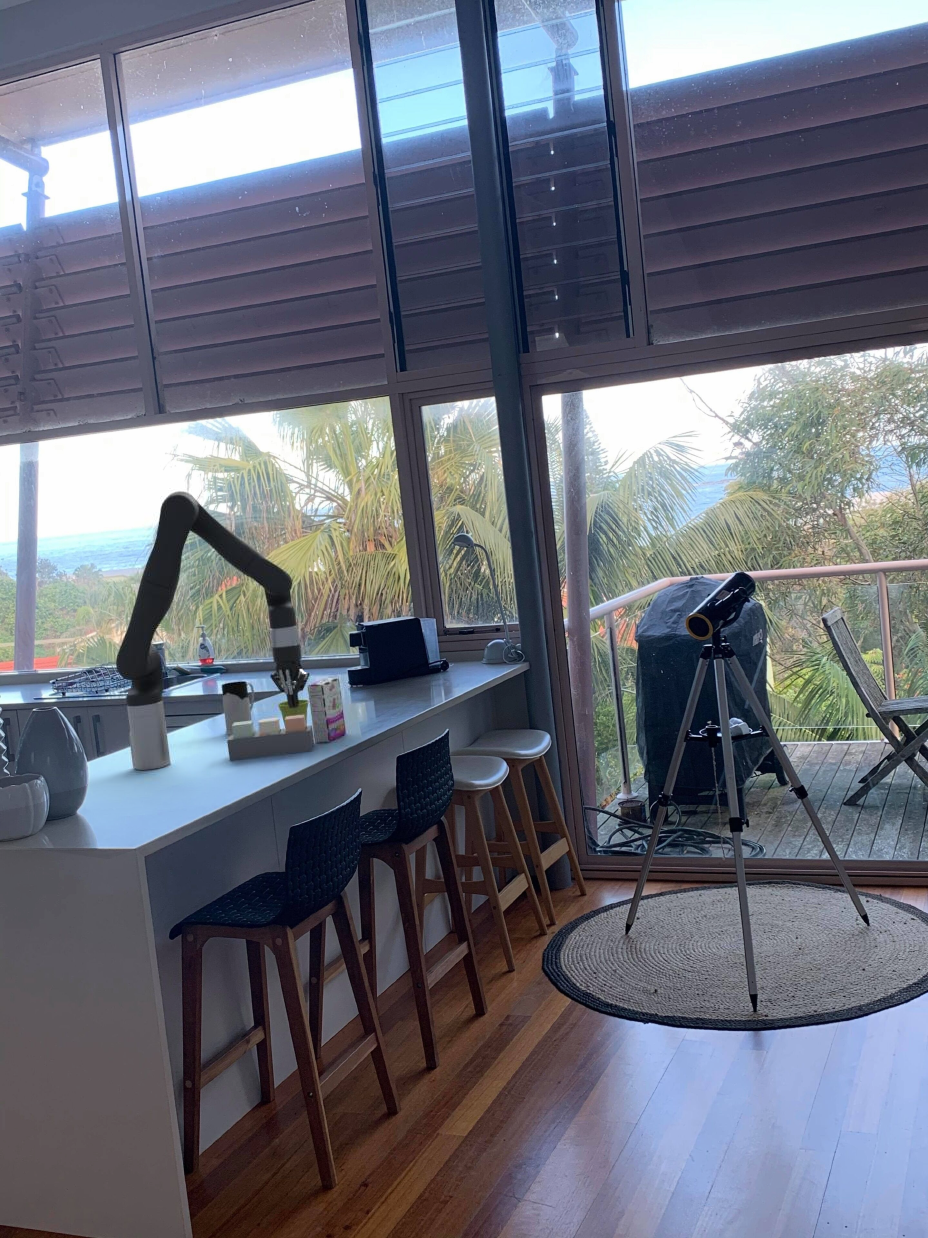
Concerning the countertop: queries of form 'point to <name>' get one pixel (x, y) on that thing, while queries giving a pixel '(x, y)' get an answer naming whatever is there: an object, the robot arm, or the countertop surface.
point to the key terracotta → (295, 723)
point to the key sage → (243, 729)
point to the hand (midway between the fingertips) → (293, 707)
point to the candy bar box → (326, 710)
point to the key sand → (269, 726)
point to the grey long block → (270, 744)
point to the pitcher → (236, 703)
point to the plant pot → (294, 709)
